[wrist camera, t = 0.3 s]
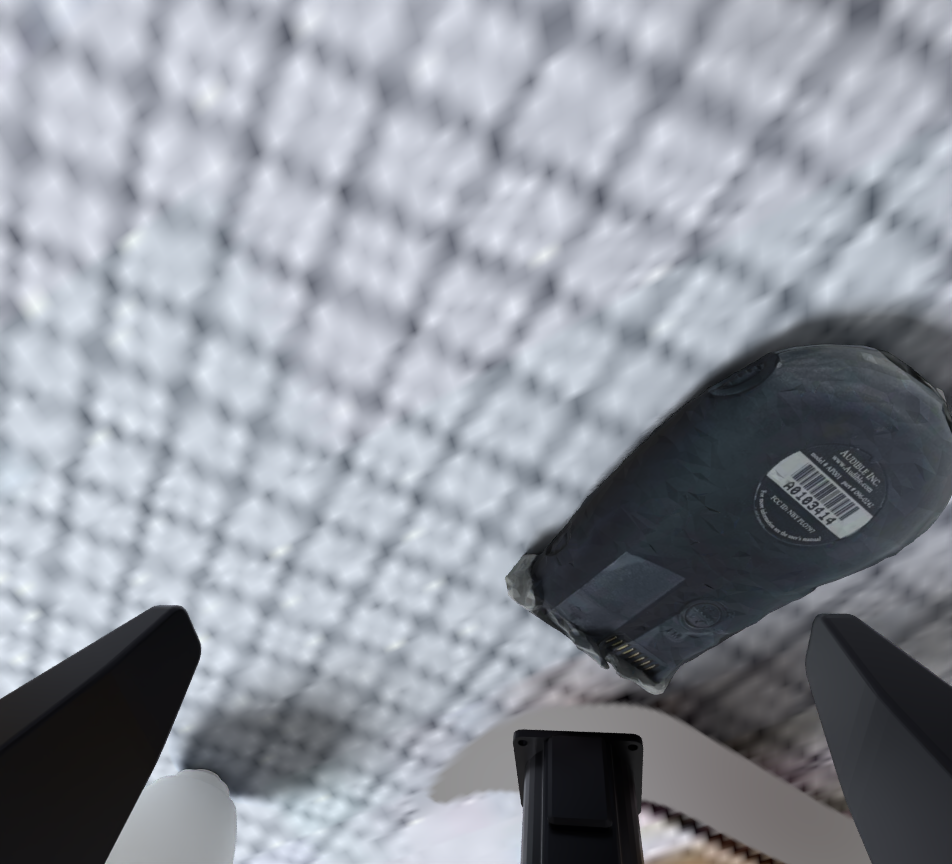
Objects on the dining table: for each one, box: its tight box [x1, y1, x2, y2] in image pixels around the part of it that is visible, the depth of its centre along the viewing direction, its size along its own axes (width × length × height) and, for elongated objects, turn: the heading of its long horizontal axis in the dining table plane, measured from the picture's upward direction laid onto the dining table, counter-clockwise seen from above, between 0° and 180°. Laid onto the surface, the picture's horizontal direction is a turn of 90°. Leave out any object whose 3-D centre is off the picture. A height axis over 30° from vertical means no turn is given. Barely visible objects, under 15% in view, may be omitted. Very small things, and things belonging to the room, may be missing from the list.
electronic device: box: [505, 344, 952, 695], centre depth 21 cm, size 9×6×15 cm
